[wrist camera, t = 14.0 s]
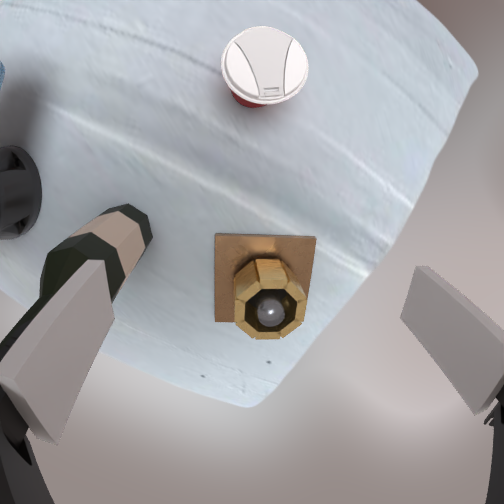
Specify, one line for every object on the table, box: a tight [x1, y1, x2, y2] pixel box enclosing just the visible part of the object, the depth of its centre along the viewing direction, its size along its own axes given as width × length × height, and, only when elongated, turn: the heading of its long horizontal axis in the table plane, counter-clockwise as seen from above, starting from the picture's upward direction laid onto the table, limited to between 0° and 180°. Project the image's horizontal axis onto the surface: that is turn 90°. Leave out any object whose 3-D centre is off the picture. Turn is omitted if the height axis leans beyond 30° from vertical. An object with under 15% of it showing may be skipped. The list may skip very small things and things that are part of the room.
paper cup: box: [221, 26, 308, 108], centre depth 27 cm, size 8×8×14 cm
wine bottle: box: [0, 204, 153, 350], centre depth 25 cm, size 8×8×30 cm
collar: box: [233, 259, 307, 339], centre depth 38 cm, size 9×9×6 cm
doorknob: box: [215, 233, 316, 327], centre depth 39 cm, size 14×14×10 cm
